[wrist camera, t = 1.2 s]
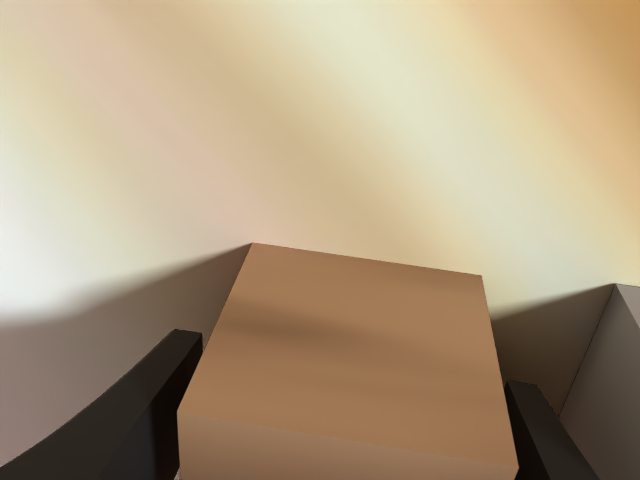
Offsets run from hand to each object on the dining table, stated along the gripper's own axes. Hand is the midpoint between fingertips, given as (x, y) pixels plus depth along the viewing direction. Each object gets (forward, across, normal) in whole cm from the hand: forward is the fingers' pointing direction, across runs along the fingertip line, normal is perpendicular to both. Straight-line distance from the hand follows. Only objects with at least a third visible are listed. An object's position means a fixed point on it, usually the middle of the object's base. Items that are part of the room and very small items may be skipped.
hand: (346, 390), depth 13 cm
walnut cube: (+2, 0, 0) cm, 2 cm away
